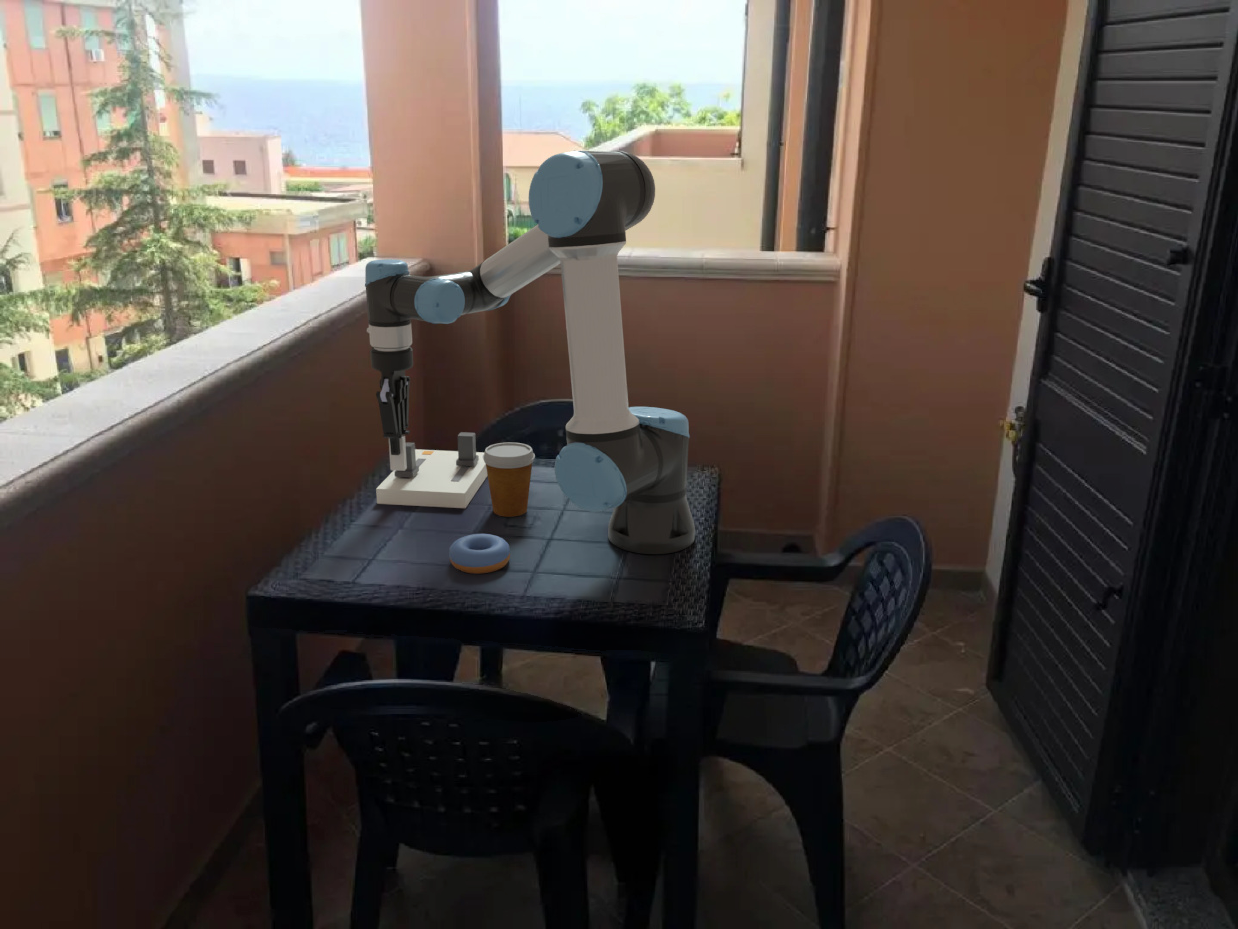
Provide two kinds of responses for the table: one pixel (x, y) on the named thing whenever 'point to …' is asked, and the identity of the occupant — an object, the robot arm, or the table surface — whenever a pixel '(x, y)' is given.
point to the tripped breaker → (409, 462)
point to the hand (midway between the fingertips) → (398, 468)
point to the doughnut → (479, 553)
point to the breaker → (466, 450)
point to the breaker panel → (434, 482)
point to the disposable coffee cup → (509, 477)
